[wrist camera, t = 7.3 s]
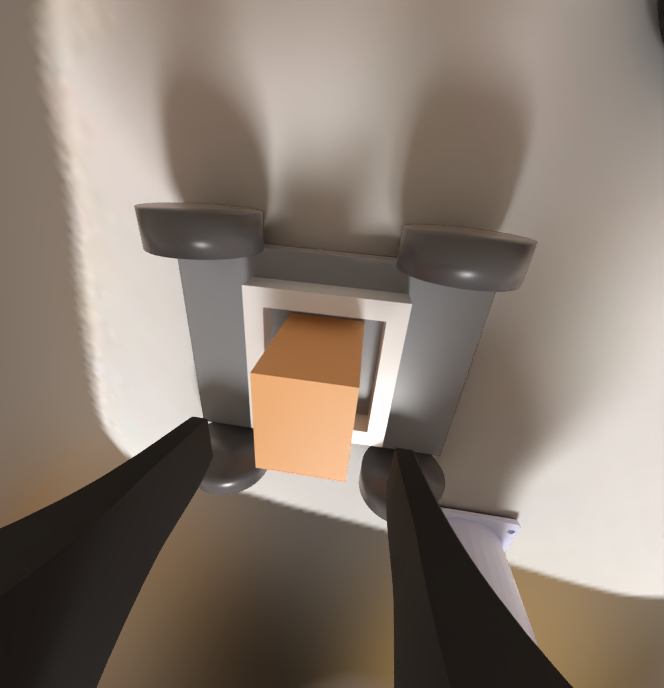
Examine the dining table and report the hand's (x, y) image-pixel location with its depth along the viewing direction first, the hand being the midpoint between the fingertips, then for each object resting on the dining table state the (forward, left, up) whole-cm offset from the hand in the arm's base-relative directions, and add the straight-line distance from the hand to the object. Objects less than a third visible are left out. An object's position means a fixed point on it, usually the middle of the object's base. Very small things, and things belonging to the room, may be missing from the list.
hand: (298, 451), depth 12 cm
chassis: (0, 0, -8) cm, 8 cm away
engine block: (0, 0, -7) cm, 7 cm away
